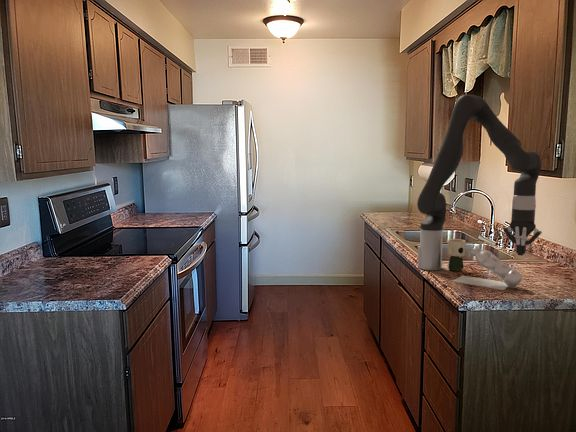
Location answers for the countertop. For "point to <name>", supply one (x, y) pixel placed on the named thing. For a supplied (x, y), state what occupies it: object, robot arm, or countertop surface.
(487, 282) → the mat
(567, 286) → the countertop surface
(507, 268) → the plastic bottle
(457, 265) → the character mug
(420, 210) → the robot arm
